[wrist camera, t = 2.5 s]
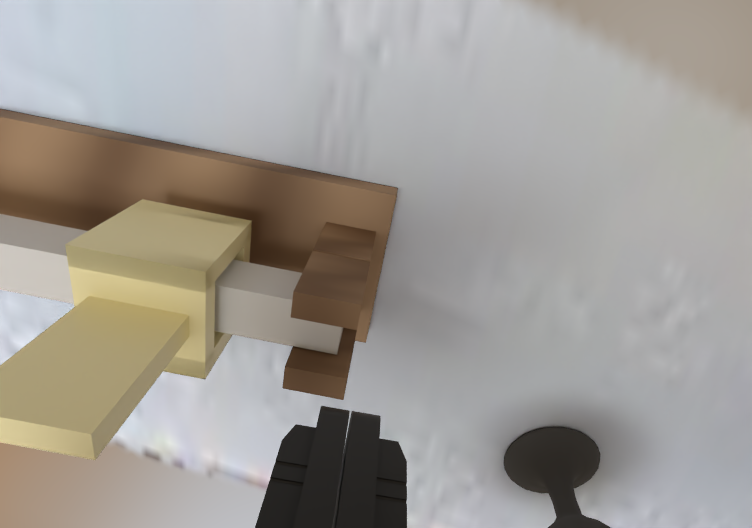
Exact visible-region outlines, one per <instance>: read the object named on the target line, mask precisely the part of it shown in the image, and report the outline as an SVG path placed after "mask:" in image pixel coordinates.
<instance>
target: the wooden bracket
mask: <svg viewBox="0 0 752 528" xmlns="http://www.w3.org/2000/svg"><path fill="white" fill-rule="evenodd" d="M397 189H398V188H395V187H390V186H385V185H380V184H375V183H370V182H364V181H359V180H354V179H349V178H344V177H339V176H334V175H329V174H324V173H319V172H314V171H309V170H304V169H299V168H294V167H289V166H284V165H279V164H274V163H269V162H264V161H259V160H254V159H249V158H244V157H239V156H234V155H229V154H224V153H219V152H214V151H209V150H204V149H199V148H194V147H189V146H184V145H179V144H174V143H169V142H164V141H159V140H154V139H149V138H144V137H139V136H134V135H129V134H124V133H119V132H114V131H109V130H104V129H98V128H93V127H88V126H83V125H78V124H73V123H68V122H63V121H58V120H53V119H48V118H43V117H38V116H33V115H28V114H23V113H18V112H13V111H8V110H3V109H0V214H3V215H9V216H14V217H19V218H24V219H29V220H34V221H39V222H44V223H49V224H55V225H60V226H65V227H70V228H75V229H80V230H85V231H89V230H91V229H92V228H94V227H96V226H97V225H99V224H101V223H103V222H104V221H106V220H108V219H110V218H111V217H113V216H115V215H116V214H118V213H120V212H122V211H123V210H125V209H127V208H128V207H130V206H132V205H134V204H135V203H137V202H139V201H140V200H142V199H144V200H149V201H154V202H159V203H164V204H169V205H174V206H179V207H184V208H189V209H194V210H199V211H205V212H210V213H215V214H220V215H225V216H230V217H235V218H240V219H245V220H250V221H252V225H251V243H250V261H249V263H254V264H259V265H264V266H269V267H274V268H279V269H284V270H289V271H295V272H300V273H302V275H301V277H300V279H299V281H298V283H297V285H296V287H295V289H294V291H293V299H292V308H291V318H296V319H301V320H306V321H312V322H317V323H322V324H327V325H332V326H337V327H342V328H343V332H342V336H341V340H340V344H339V348H338V352H337V355H336V354H331V353H326V352H320V351H315V350H310V349H305V348H300V347H294V346H293V348H292V350H291V353H290V355H289V358H288V360H287V363H286V366H285V371H284V380H283V388H284V389H289V390H294V391H300V392H305V393H310V394H315V395H320V396H326V397H331V398H336V399H341V400H343V399H344V394H345V388H346V383H347V378H348V373H349V368H350V363H351V358H352V353H353V348H354V342H355V341H360V342H365V343H366V339H367V334H368V329H369V325H370V320H371V315H372V310H373V306H374V301H375V296H376V292H377V287H378V282H379V277H380V273H381V268H382V263H383V258H384V254H385V249H386V244H387V240H388V235H389V230H390V225H391V221H392V216H393V211H394V206H395V202H396V197H397Z"/></svg>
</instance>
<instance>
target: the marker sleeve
mask: <svg viewBox="0 0 752 528" xmlns="http://www.w3.org/2000/svg"><path fill="white" fill-rule="evenodd" d="M251 225H252V221H250V220H245V219H240V218H235V217H230V216H225V215H220V214H215V213H210V212H205V211H199V210H194V209H189V208H184V207H179V206H174V205H169V204H164V203H159V202H154V201H149V200H144V199H142V200H140V201H139V202H137V203H135V204H134V205H132V206H130V207H128V208H127V209H125V210H123V211H122V212H120V213H118V214H116V215H115V216H113V217H111V218H110V219H108V220H106V221H104V222H103V223H101V224H99V225H97V226H96V227H94V228H92V229H91V230H89V231H87V232H85V233H84V234H82V235H80V236H79V237H77V238H75V239H73V240H72V241H70V242H68V243H67V244H65V248H66V254H67V261H68V267H69V273H70V280H71V286H72V293H73V299H74V306H75V307H74V308H73V309H72V310H70V311H69V312H68V313H67V314H65V315H64V316H63V317H62V318H60V319H59V320H58V321H56V322H55V323H54V324H53V325H51V326H50V327H49V328H47V329H46V330H45V331H44V332H42V333H41V334H40V335H39V336H37V337H36V338H35V339H33V340H32V341H31V342H30V343H28V344H27V345H26V346H25V347H23V348H22V349H21V350H19V351H18V352H17V353H16V354H14V355H13V356H12V357H11V358H9V359H8V360H7V361H5V362H4V363H3V364H2V365H0V442H1V443H7V444H12V445H17V446H23V447H28V448H33V449H38V450H44V451H49V452H54V453H60V454H65V455H70V456H76V457H81V458H86V459H92V460H96V459H97V457H98V456H99V454H100V453H101V452H102V451H103V449H104V448H105V447H106V446H107V444H108V443H109V442H110V440H111V439H112V438H113V436H114V435H115V434H116V432H117V431H118V430H119V428H120V427H121V426H122V424H123V423H124V422H125V421H126V419H127V418H128V417H129V415H130V414H131V413H132V411H133V410H134V409H135V407H136V406H137V405H138V403H139V402H140V401H141V399H142V398H143V397H144V395H145V394H146V393H147V392H148V390H149V389H150V388H151V386H152V385H153V384H154V382H155V381H156V380H157V378H158V377H159V376H160V374H161V373H162V372H163V371H165V372H170V373H175V374H180V375H186V376H191V377H196V378H201V379H206V377H207V375H208V374H209V372H210V371H211V369H212V367H213V366H214V364H215V362H216V361H217V359H218V358H219V356H220V354H221V353H222V351H223V349H224V348H225V346H226V345H227V343H228V341H229V340H230V338H231V336H232V334H227V333H222V332H217V331H214V325H215V281H216V280H217V278H218V277H219V276H220V275H221V274H222V272H223V271H224V270H225V269H226V268H227V266H228V265H229V264H230V263H231V262H232V260H238V261H243V262H249V261H250V243H251Z"/></svg>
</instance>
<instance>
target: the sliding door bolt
mask: <svg viewBox="0 0 752 528" xmlns="http://www.w3.org/2000/svg"><path fill="white" fill-rule="evenodd" d="M85 232H87V231H85V230H80V229H75V228H70V227H65V226H60V225H55V224H49V223H44V222H39V221H34V220H29V219H24V218H19V217H14V216H9V215H3V214H0V290H5V291H10V292H15V293H20V294H26V295H31V296H36V297H41V298H46V299H51V300H57V301H62V302H67V303H72V304H74V299H73V293H72V286H71V280H70V273H69V267H68V261H67V254H66V248H65V244H67V243H68V242H70V241H72V240H73V239H75V238H77V237H79V236H80V235H82V234H84V233H85ZM301 275H302V273H300V272H295V271H289V270H284V269H279V268H274V267H269V266H264V265H259V264H254V263H249V262H243V261H238V260H232V262H231V263H230V264H229V265H228V266H227V268H226V269H225V270H224V271H223V272H222V274H221V275H220V276H219V277H218V278H217V280H216V281H215V325H214V331H217V332H222V333H227V334H232V335H238V336H243V337H248V338H253V339H258V340H263V341H269V342H274V343H279V344H284V345H289V346H294V347H300V348H305V349H310V350H315V351H320V352H326V353H331V354H336V355H337V352H338V348H339V344H340V340H341V336H342V332H343V328H342V327H337V326H332V325H327V324H322V323H317V322H312V321H306V320H301V319H296V318H291V308H292V299H293V291H294V289H295V287H296V285H297V283H298V281H299V279H300V277H301Z"/></svg>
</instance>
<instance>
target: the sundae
mask: <svg viewBox="0 0 752 528" xmlns="http://www.w3.org/2000/svg"><path fill="white" fill-rule="evenodd" d="M599 462H600V452H599V450H598V447H597V446H596V444H595V442H594V441H593V440H591V439H590V438H589V437H588V436H586V435H584V434H583V433H581V432H578V431H575V430H572V429H567V428H563V427H551V428H542V429H538V430H535V431H532V432H529V433H527V434H525V435H523V436H522V437H520V438H518V439H517V440H516V441H515V442H514V443H512V444H511V446H510V447H509V449H508V450H507V452H506V454H505V457H504V468H505V471H506V473H507V475H508V476H509V477H510V479H511V480H512V481H514V482H515V483H516V484H517V485H519V486H521V487H522V488H524V489H526V490H530V491H533V492H538V493H549V495H550V497H551V500H552V502H553V505H554V509H555V513H556V516H557V518H556V520H555V522H554V523H553V524H552V525H550V526H549V527H548V528H610V527H609V526H607V525H605V524H604V523H602V522H600V521H598V520H596V519H592V518H588V517H586V516H584V515H582V514H581V511H580V508H579V506H578V503H577V501H576V497H575V493H574V488H576V487H578V486H580V485H582V484H584V483H585V482H587V481H588V480H590V479H591V477H592V476H593V475H594V474H595V472H596V471H597V469H598V467H599Z"/></svg>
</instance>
